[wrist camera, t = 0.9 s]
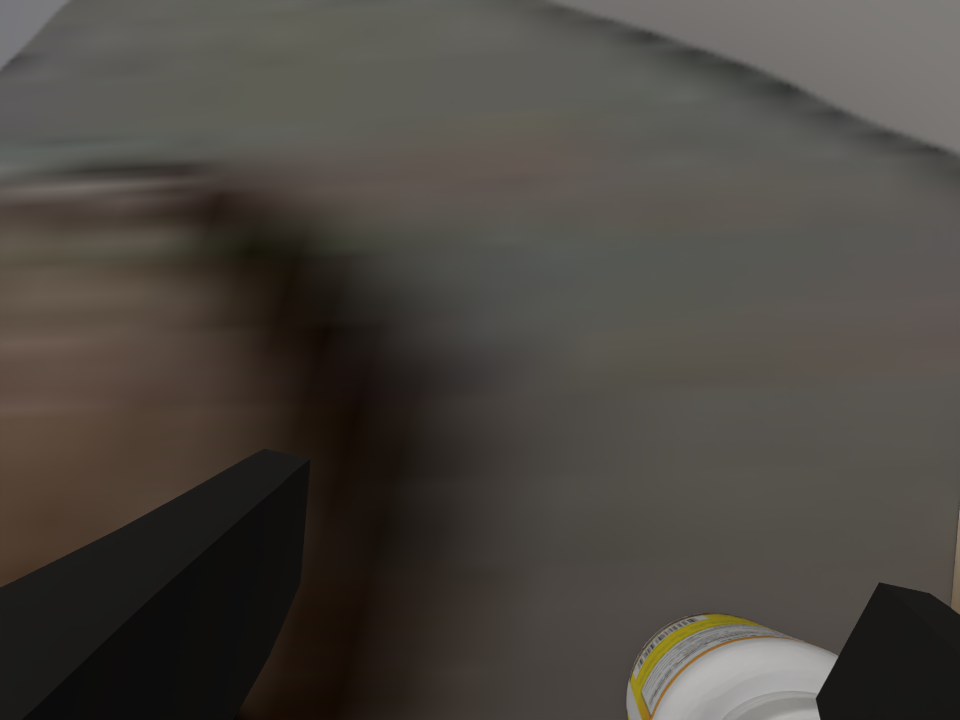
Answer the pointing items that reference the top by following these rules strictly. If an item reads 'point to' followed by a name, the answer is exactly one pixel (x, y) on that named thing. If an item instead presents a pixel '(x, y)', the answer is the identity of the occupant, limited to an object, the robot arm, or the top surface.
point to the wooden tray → (957, 576)
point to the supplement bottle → (726, 673)
